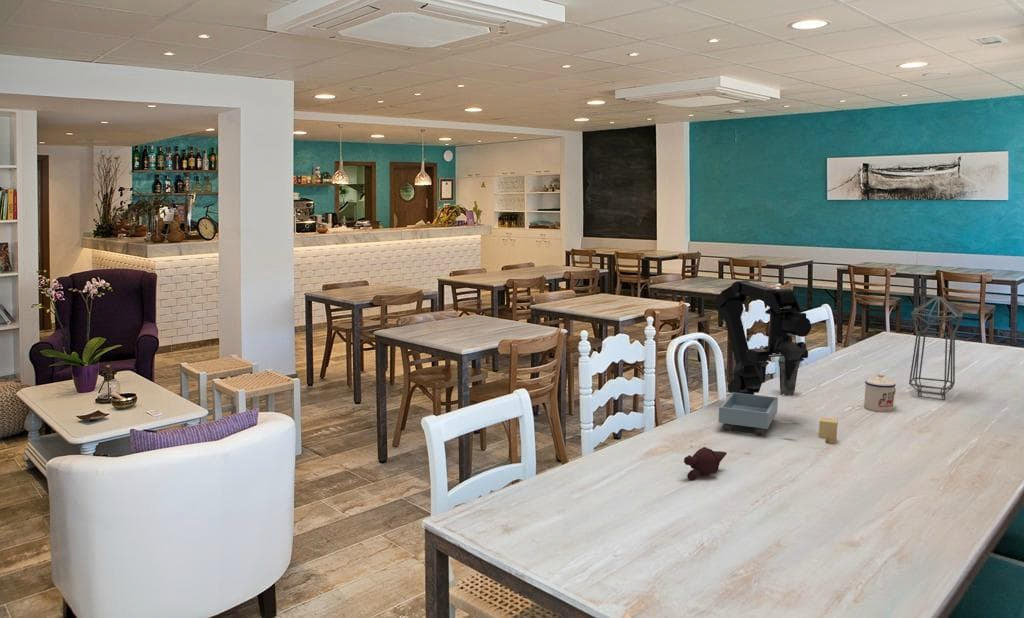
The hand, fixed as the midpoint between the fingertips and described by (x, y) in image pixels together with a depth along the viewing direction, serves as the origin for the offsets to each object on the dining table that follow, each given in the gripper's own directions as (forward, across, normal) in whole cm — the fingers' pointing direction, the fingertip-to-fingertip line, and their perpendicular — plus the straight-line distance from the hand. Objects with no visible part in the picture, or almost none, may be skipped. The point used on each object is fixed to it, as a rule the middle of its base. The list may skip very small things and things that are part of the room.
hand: (775, 381), depth 240 cm
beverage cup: (+14, +28, +28) cm, 42 cm away
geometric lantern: (+14, +74, +9) cm, 76 cm away
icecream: (+13, -45, -31) cm, 56 cm away
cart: (+12, -11, -3) cm, 17 cm away
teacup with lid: (+13, +45, +3) cm, 47 cm away
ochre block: (+13, +4, -19) cm, 23 cm away
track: (+13, -8, -7) cm, 17 cm away
